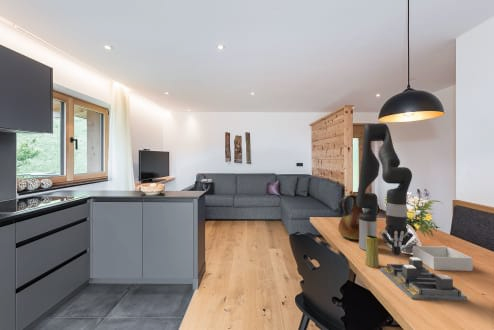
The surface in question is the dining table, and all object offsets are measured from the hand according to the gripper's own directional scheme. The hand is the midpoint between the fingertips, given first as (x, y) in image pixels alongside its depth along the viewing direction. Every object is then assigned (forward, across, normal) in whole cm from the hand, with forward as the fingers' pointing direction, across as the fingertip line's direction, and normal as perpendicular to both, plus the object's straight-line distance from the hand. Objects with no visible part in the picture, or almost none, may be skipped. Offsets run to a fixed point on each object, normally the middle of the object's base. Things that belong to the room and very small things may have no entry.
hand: (396, 254), depth 95 cm
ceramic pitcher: (+12, -7, -58) cm, 60 cm away
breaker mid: (+11, -6, 0) cm, 12 cm away
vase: (+13, +2, -17) cm, 21 cm away
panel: (+12, -9, 0) cm, 16 cm away
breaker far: (+11, -13, -8) cm, 19 cm away
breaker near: (+11, -13, +8) cm, 19 cm away
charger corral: (+12, -34, -21) cm, 42 cm away
